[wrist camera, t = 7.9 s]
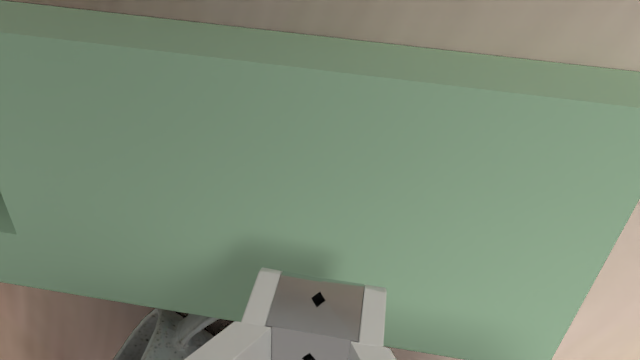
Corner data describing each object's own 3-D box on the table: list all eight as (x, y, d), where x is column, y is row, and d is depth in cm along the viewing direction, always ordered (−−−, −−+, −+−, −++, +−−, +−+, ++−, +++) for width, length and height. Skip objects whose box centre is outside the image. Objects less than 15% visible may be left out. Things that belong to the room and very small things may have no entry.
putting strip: (-213, -24, 15) (-437, 22, 11) (643, 72, 13) (749, 173, 9) (-84, 219, 21) (-202, 308, 17) (529, 315, 19) (562, 445, 15)
